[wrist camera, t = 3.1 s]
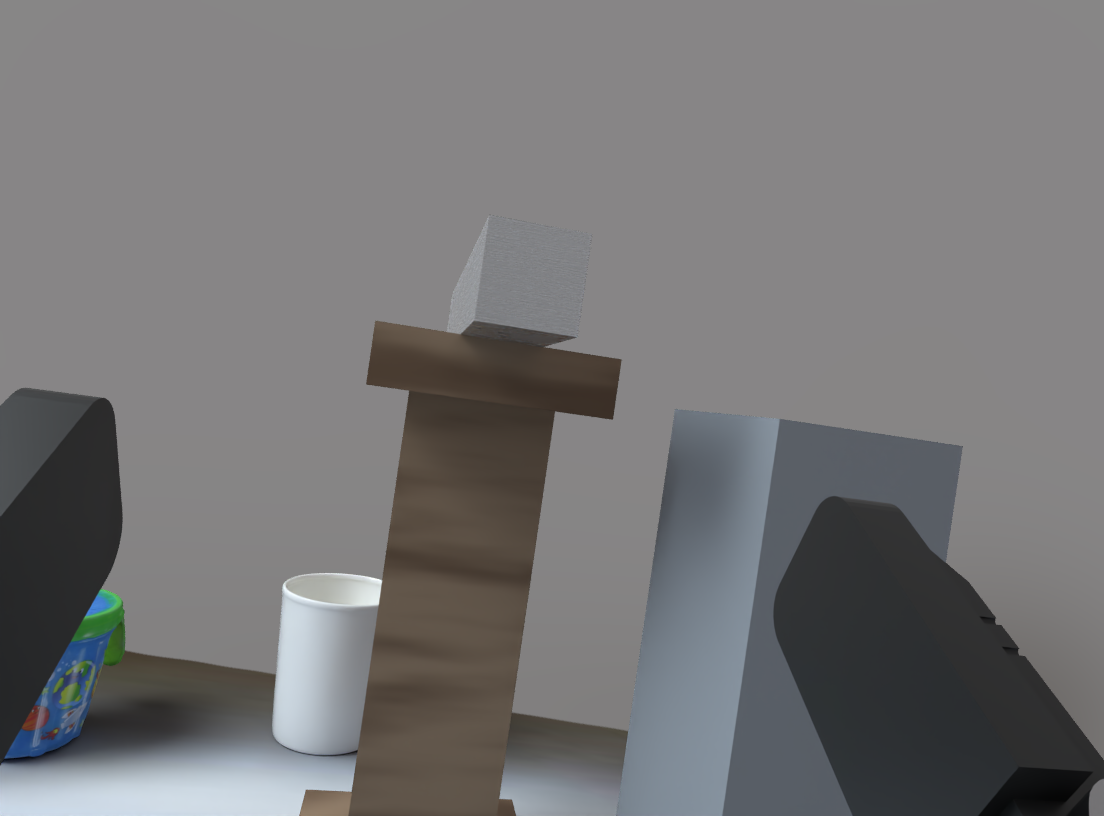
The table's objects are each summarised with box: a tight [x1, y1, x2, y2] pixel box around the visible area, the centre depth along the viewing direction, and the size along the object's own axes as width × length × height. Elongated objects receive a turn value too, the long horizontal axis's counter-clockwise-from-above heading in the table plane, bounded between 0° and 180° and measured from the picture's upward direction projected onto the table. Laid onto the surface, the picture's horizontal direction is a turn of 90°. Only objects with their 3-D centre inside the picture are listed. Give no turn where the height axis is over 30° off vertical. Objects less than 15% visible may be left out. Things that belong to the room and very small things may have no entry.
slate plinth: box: [616, 409, 963, 816], centre depth 37 cm, size 12×8×30 cm, turn 10°
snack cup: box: [4, 589, 125, 759], centre depth 56 cm, size 16×10×10 cm
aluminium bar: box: [447, 215, 592, 347], centre depth 42 cm, size 26×4×4 cm, turn 10°
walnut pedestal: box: [299, 321, 621, 816], centre depth 45 cm, size 16×14×32 cm
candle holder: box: [272, 573, 382, 755], centre depth 64 cm, size 10×10×12 cm
